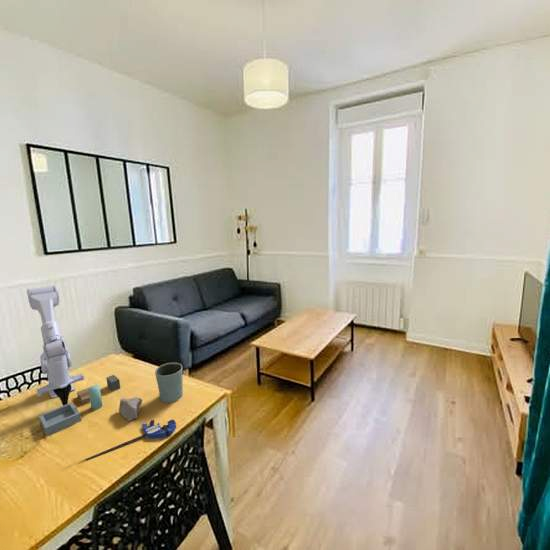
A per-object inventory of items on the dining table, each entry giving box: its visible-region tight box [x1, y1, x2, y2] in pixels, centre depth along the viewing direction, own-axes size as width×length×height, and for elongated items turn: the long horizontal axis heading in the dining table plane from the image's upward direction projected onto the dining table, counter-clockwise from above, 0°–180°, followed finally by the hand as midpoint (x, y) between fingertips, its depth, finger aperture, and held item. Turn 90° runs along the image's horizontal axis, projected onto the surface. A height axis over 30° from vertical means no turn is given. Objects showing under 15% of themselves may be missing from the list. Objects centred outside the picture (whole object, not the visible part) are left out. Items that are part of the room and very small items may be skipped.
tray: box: [38, 402, 82, 437], centre depth 107 cm, size 10×10×3 cm
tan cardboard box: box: [76, 386, 91, 406], centre depth 122 cm, size 8×6×2 cm
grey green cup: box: [154, 362, 184, 404], centre depth 119 cm, size 10×10×12 cm
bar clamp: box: [78, 419, 177, 465], centre depth 96 cm, size 32×2×10 cm
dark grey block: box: [105, 374, 121, 392], centre depth 128 cm, size 6×3×4 cm, turn 47°
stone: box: [118, 396, 143, 422], centre depth 111 cm, size 10×8×6 cm
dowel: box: [88, 384, 103, 411], centre depth 115 cm, size 4×4×8 cm
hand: (64, 404), depth 116 cm, fingers closed
